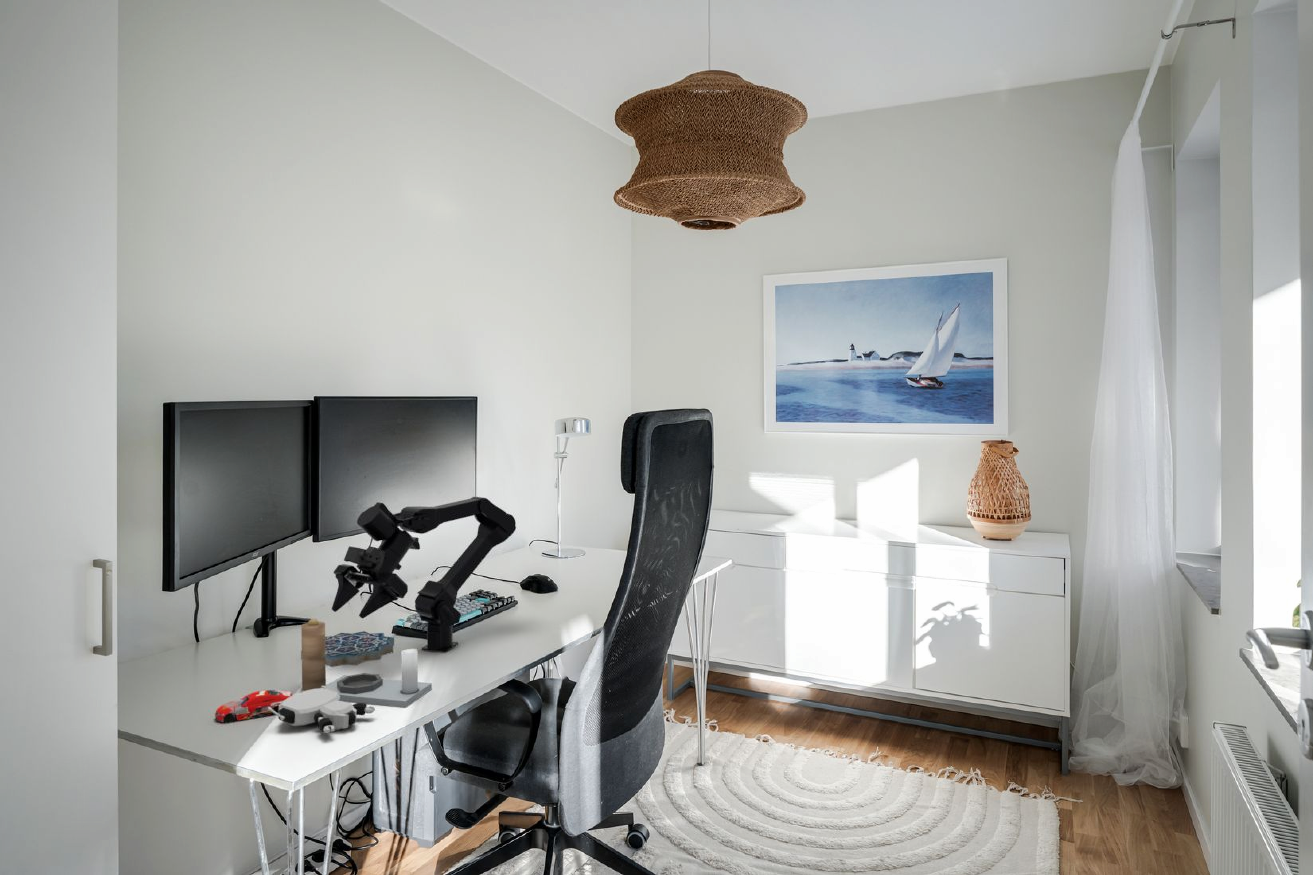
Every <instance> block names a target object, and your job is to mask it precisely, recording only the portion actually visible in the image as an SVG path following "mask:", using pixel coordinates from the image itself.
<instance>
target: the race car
mask: <svg viewBox="0 0 1313 875" xmlns="http://www.w3.org/2000/svg"><path fill="white" fill-rule="evenodd" d="M291 696H293V692H291V691H286V690H283V691H282V690H279V689H268V690H267V689H266V690H265V689H264V690H258V691H254V692H251V693H248V694H247V695H244V697H242V698H239V699H237V700H234V701H233V700H232V701H229V702H227V703H224V704H222V705H220V706H218V707H217V709H216V711H215V713H214V717H215V718H214V719H215V720H216V721H218V722H222V723H224V722H225V724H230V723H235V722H236V721H242V720H250V719H255V718H256V719H257V718H261V717H266V716H271V715H273V716H277V715H276V714H274V713H273V712H271V711H269V710H268V707H270V708H272V710H274V711H275V712H277V713H279V705H280V704H281V703H282V702H283V701H284V700H286V699H287V698H289V697H291Z"/></svg>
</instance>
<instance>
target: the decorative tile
mask: <svg viewBox="0 0 1313 875" xmlns="http://www.w3.org/2000/svg"><path fill="white" fill-rule="evenodd" d="M393 645H394V646H395V637H393V636H385V633H384V632H378V633H377V632H376V633H374V632H373V633H369V632H367V631H365V630H363V631H358V632H353V633H349V632H346V633H345V632H339V633H337V634H335V635H333V636H332V635H331V636H325V659H326V666H328V667H329V668H332V667H333V668H334V667H337V666H342V665H351V666H358V665H360V664H361V663H364V662H367V661H379V660H381V658H382V656H384V655H388V654H387V653H389V654H392V653H391V652H393V653H394V646H393ZM300 660H302V649H301V650H300Z"/></svg>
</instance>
